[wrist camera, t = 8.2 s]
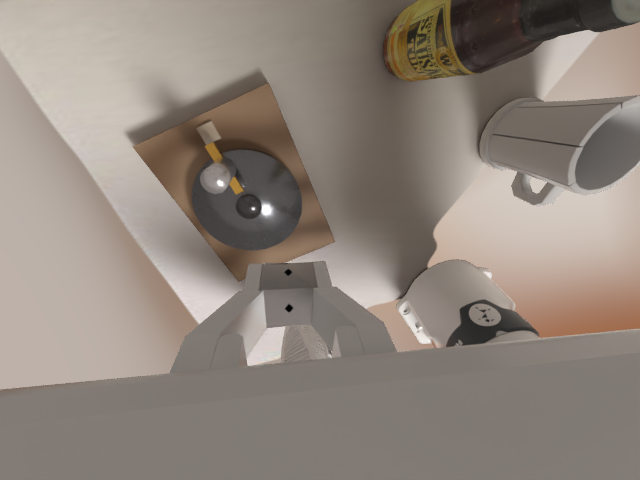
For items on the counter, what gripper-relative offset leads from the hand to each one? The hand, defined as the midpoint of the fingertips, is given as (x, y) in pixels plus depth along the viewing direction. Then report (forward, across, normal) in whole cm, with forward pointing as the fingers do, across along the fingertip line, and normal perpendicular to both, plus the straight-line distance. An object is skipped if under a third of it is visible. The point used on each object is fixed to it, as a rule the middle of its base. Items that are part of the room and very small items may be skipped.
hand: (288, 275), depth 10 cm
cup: (+24, -31, -4) cm, 39 cm away
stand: (+23, +4, +5) cm, 24 cm away
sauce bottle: (+23, -14, -12) cm, 30 cm away
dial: (+21, +5, +4) cm, 22 cm away
